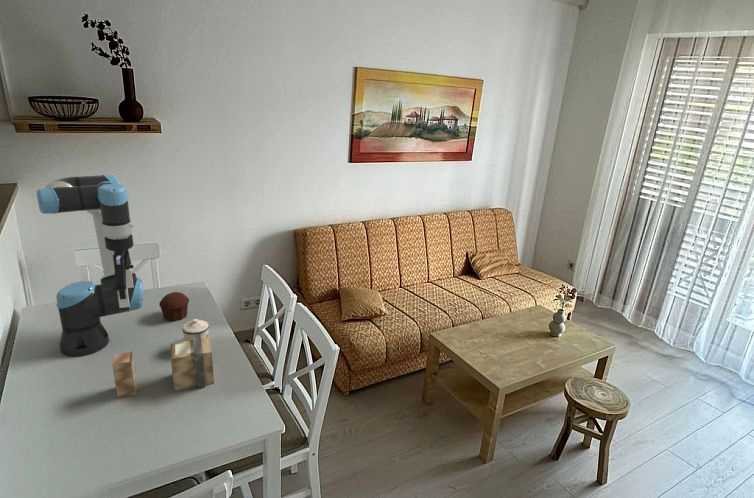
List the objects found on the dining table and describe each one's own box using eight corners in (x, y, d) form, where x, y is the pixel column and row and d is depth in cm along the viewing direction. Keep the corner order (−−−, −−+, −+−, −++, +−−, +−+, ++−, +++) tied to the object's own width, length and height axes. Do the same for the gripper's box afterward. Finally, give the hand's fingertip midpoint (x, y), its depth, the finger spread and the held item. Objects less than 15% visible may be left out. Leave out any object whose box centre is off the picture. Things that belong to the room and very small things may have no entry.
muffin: (183, 324, 183) (180, 302, 179) (155, 322, 183) (153, 300, 179) (194, 310, 194) (193, 289, 191) (169, 308, 194) (166, 287, 191)
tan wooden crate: (174, 393, 144) (170, 358, 139) (174, 371, 154) (170, 338, 149) (214, 385, 148) (212, 351, 144) (211, 365, 159) (209, 332, 154)
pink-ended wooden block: (117, 398, 140) (112, 364, 136) (119, 386, 145) (114, 354, 141) (135, 394, 142) (131, 361, 138) (137, 383, 147) (132, 351, 143)
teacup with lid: (211, 352, 166) (209, 324, 162) (184, 356, 163) (181, 327, 159) (209, 335, 176) (207, 308, 172) (184, 338, 173) (181, 311, 169)
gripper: (128, 249, 130) (136, 314, 137) (135, 221, 151) (142, 279, 159) (98, 251, 127) (108, 317, 135) (109, 222, 148) (118, 281, 156)
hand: (126, 296), depth 147 cm, fingers open, 13 cm apart
